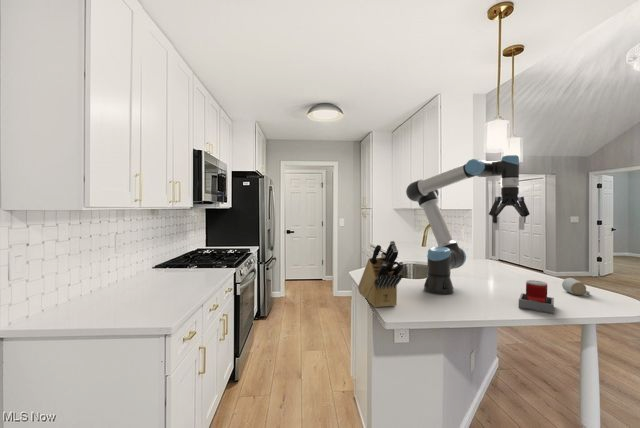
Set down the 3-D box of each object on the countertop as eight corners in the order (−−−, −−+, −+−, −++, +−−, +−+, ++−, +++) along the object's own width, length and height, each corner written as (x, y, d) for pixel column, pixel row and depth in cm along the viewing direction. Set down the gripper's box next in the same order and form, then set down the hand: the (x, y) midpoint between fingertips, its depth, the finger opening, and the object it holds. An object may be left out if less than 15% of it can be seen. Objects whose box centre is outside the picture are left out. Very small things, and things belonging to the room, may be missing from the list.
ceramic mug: (571, 295, 159) (572, 281, 159) (561, 291, 167) (562, 277, 167) (594, 296, 158) (595, 282, 158) (582, 292, 166) (583, 278, 166)
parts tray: (518, 308, 140) (518, 299, 140) (521, 301, 150) (521, 293, 150) (553, 314, 132) (553, 304, 132) (553, 306, 142) (553, 297, 142)
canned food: (550, 309, 136) (550, 284, 136) (530, 308, 138) (530, 283, 138) (541, 303, 144) (542, 280, 144) (522, 302, 146) (523, 279, 145)
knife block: (380, 315, 131) (381, 243, 130) (357, 292, 165) (357, 235, 165) (405, 314, 132) (406, 242, 132) (377, 291, 167) (377, 234, 166)
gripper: (491, 186, 147) (490, 230, 147) (538, 186, 150) (537, 230, 150) (481, 187, 154) (480, 229, 155) (526, 187, 157) (525, 228, 158)
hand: (509, 229), depth 153 cm, fingers open, 13 cm apart
